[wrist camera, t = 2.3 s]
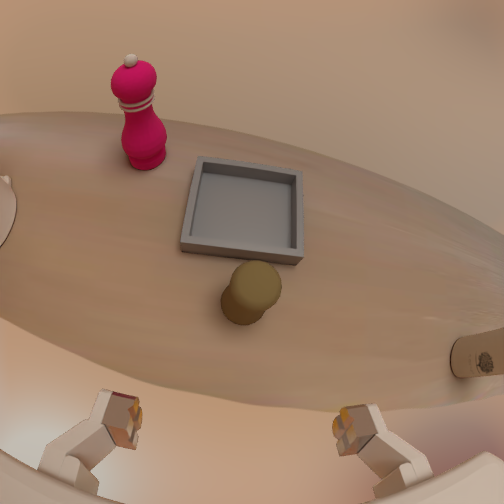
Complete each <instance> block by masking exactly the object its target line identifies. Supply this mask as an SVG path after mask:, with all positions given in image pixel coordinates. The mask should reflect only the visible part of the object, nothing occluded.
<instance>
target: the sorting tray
mask: <svg viewBox="0 0 504 504" xmlns="http://www.w3.org/2000/svg"><path fill="white" fill-rule="evenodd" d="M180 244H181V249H182V252H188V253H196V254H204V255H212V256H221V257H229V258H238V259H246V260H260V261H263V262H272V263H280V264H289V265H297V264H298V263H299V262H300V261H301V260H302V259H303V258H304V210H303V176H302V171H297V170H292V169H287V168H281V167H275V166H269V165H263V164H257V163H250V162H243V161H236V160H228V159H220V158H212V157H203V156H198V157H197V161H196V166H195V170H194V175H193V179H192V184H191V188H190V193H189V198H188V203H187V208H186V213H185V218H184V223H183V228H182V234H181V239H180Z"/></svg>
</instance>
